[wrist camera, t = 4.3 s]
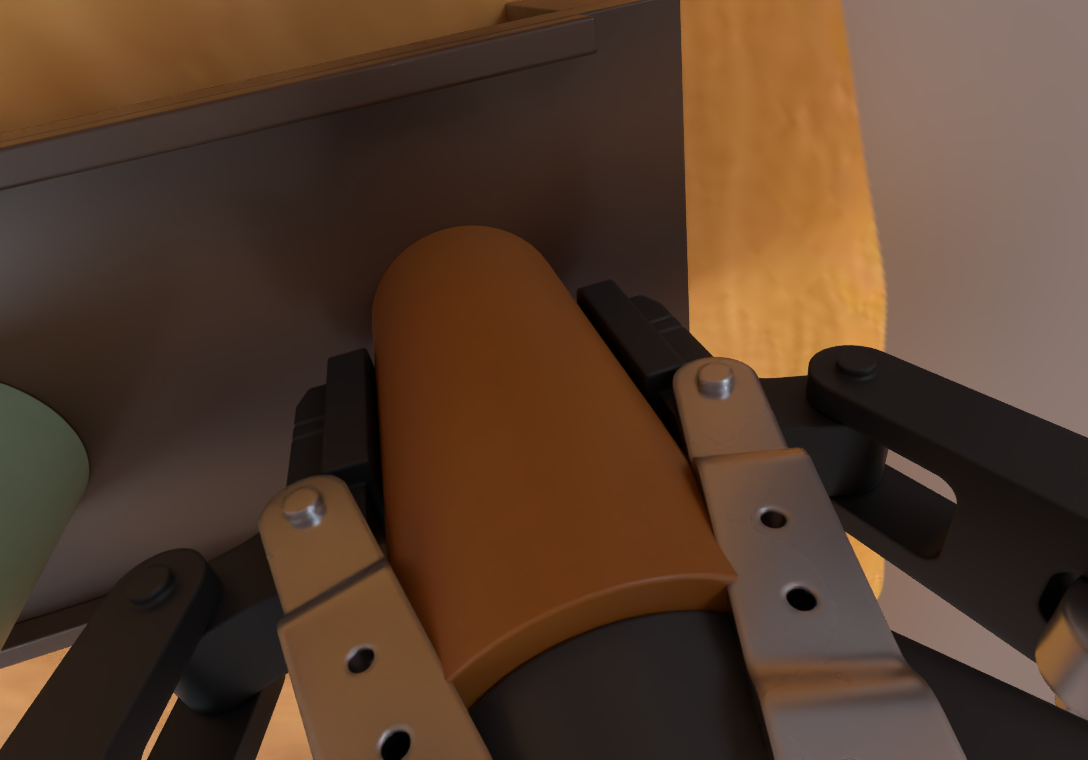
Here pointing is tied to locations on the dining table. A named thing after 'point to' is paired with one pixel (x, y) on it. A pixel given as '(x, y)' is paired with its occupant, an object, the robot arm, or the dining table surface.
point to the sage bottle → (33, 494)
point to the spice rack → (303, 252)
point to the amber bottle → (547, 518)
